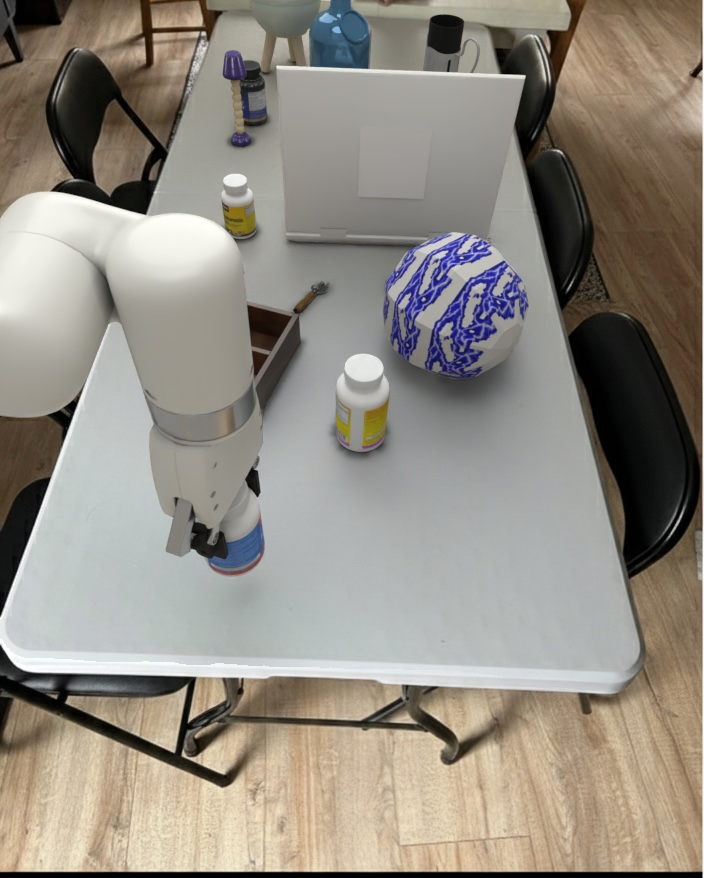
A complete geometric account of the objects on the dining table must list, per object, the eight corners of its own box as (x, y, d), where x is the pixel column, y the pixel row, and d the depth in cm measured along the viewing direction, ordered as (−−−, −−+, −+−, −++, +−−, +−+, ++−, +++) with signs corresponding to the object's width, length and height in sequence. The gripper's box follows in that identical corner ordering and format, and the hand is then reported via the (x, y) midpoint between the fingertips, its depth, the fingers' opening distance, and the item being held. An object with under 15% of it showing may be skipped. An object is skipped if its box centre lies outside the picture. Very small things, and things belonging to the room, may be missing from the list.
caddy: (191, 409, 85) (184, 381, 81) (245, 328, 95) (241, 299, 91) (252, 427, 83) (248, 400, 79) (300, 342, 94) (299, 314, 89)
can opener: (298, 315, 97) (297, 310, 96) (286, 309, 98) (286, 303, 97) (332, 286, 102) (333, 281, 101) (321, 281, 102) (321, 275, 101)
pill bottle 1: (277, 555, 62) (271, 497, 53) (225, 590, 60) (210, 535, 51) (243, 512, 65) (233, 450, 56) (192, 544, 62) (172, 484, 54)
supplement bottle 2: (390, 421, 85) (398, 354, 75) (378, 459, 81) (385, 393, 71) (343, 410, 86) (345, 342, 76) (329, 447, 82) (329, 380, 72)
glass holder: (435, 82, 149) (445, 10, 137) (481, 103, 143) (495, 30, 131) (410, 92, 146) (418, 19, 134) (456, 114, 140) (468, 40, 128)
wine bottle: (298, 98, 142) (293, -66, 118) (345, 84, 147) (348, -76, 123) (334, 122, 136) (335, -46, 112) (381, 106, 141) (392, -58, 117)
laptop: (469, 171, 125) (500, 8, 102) (485, 251, 109) (526, 78, 86) (296, 165, 124) (289, -1, 102) (286, 244, 108) (275, 68, 86)
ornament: (446, 364, 72) (336, 276, 80) (462, 429, 89) (371, 351, 98) (563, 250, 73) (443, 176, 82) (557, 335, 91) (458, 267, 100)
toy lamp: (230, 135, 131) (219, 48, 117) (252, 134, 131) (244, 47, 118) (231, 147, 128) (220, 58, 115) (254, 146, 128) (245, 57, 115)
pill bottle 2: (235, 115, 136) (229, 60, 127) (261, 110, 138) (257, 56, 129) (244, 128, 133) (239, 73, 124) (271, 123, 134) (267, 68, 126)
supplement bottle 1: (219, 234, 110) (211, 182, 102) (238, 219, 112) (231, 167, 105) (244, 244, 108) (238, 192, 100) (262, 228, 111) (258, 177, 103)
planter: (321, 85, 146) (320, -29, 129) (252, 84, 145) (242, -31, 128) (320, 56, 156) (319, -54, 138) (256, 55, 155) (247, -56, 137)
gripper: (209, 302, 49) (232, 440, 63) (83, 470, 39) (144, 589, 53) (298, 327, 48) (300, 461, 62) (191, 507, 38) (223, 618, 52)
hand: (228, 519), depth 57 cm, fingers closed on pill bottle 1, 6 cm apart
